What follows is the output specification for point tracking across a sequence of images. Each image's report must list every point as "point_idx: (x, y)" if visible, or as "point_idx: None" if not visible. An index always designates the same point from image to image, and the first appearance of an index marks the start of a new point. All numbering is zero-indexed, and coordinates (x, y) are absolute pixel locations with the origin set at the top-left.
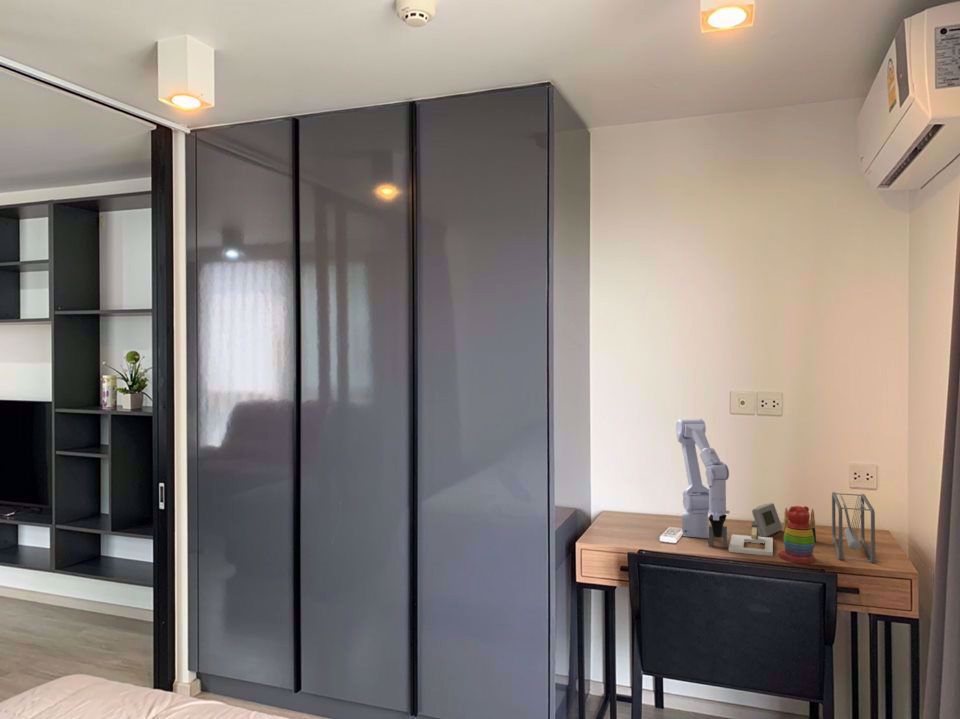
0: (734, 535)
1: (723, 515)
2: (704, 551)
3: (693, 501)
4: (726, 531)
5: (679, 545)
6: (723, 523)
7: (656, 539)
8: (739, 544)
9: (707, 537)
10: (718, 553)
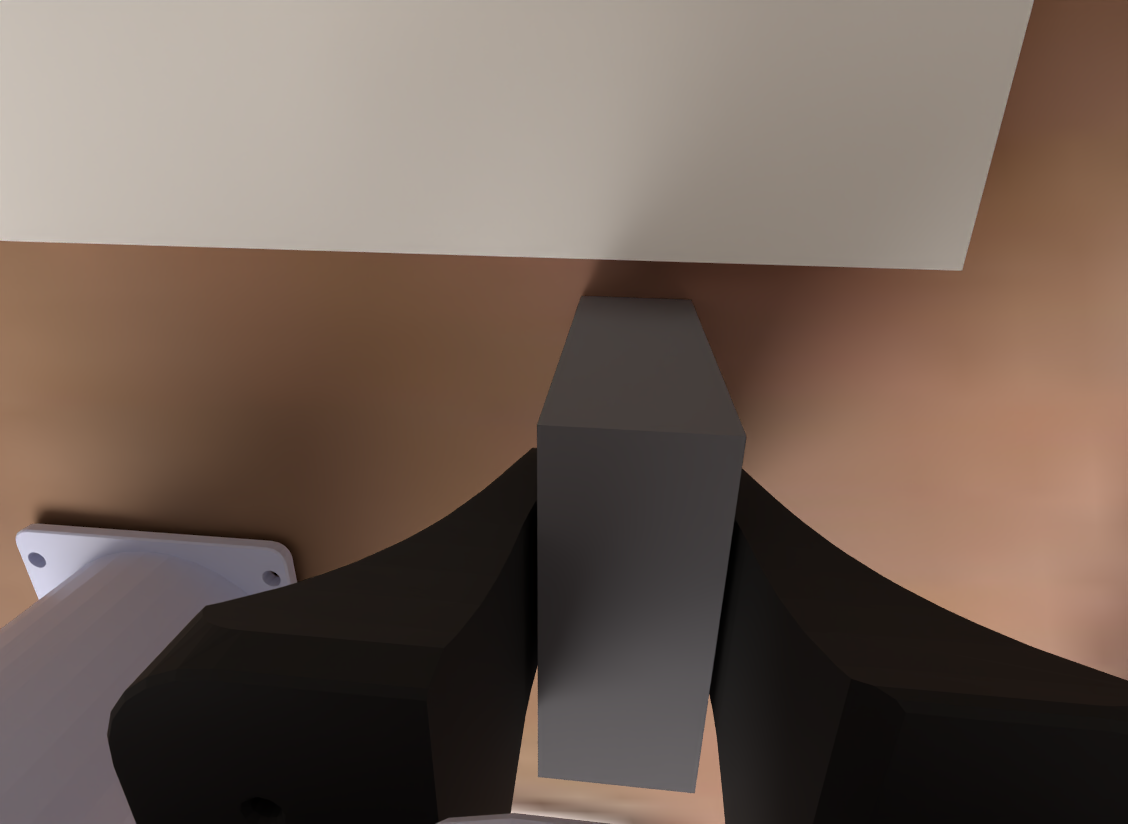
0: (27, 197)
1: (352, 788)
2: (949, 578)
3: None
4: (718, 397)
5: (718, 798)
6: (1018, 641)
7: None
8: (621, 74)
9: (284, 557)
10: (1044, 409)
